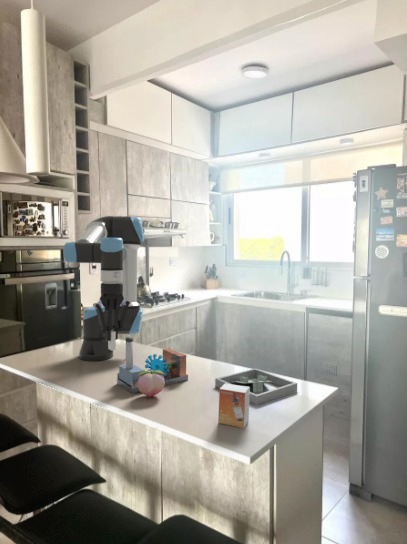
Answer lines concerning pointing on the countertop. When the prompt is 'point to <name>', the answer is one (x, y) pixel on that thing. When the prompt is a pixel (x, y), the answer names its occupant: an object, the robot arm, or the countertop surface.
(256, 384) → the metal bracket
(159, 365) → the gear
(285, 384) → the parts tray
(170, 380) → the frame
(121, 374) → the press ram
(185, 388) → the countertop surface
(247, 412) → the small box
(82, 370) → the countertop surface
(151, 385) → the decorative fruit
